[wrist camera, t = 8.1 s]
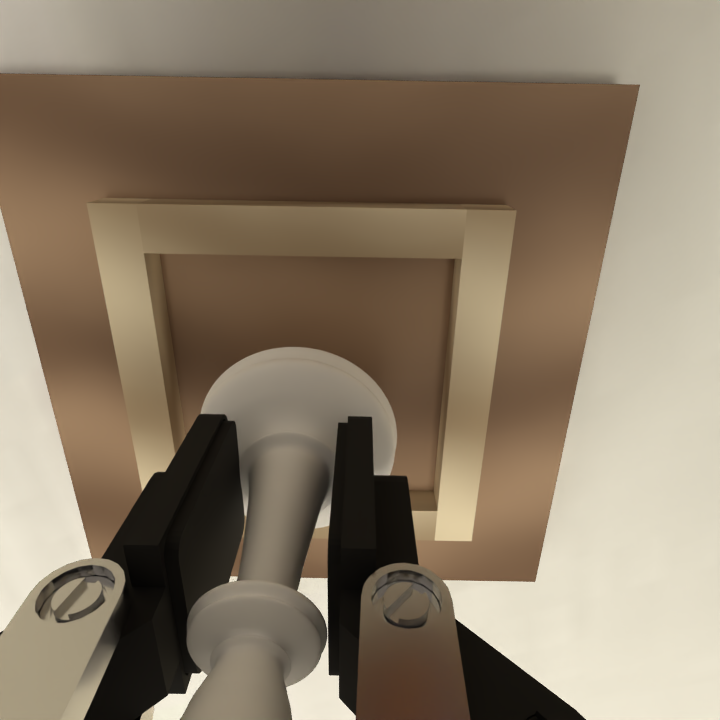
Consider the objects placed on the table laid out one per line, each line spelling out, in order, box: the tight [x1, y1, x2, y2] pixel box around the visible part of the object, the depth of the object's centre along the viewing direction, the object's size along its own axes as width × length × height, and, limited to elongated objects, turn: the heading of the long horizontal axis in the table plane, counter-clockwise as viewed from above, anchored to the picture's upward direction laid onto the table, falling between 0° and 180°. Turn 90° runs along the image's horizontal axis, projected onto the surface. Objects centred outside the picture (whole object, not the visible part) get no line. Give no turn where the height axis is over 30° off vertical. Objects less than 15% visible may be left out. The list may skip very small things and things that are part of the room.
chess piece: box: [180, 347, 397, 720], centre depth 8 cm, size 5×5×10 cm
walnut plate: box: [0, 74, 640, 582], centre depth 16 cm, size 16×16×2 cm
